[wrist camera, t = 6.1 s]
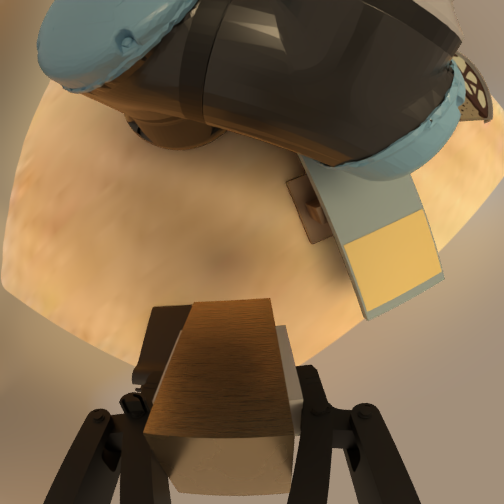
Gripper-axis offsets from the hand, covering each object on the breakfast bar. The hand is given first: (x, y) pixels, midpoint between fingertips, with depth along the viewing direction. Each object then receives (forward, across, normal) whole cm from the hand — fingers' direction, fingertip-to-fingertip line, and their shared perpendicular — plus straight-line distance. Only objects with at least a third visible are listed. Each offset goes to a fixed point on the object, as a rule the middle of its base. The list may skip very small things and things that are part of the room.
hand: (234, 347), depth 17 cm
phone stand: (+19, -10, -10) cm, 23 cm away
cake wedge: (+19, +29, +24) cm, 42 cm away
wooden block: (+2, 0, 0) cm, 2 cm away
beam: (+11, +14, +8) cm, 19 cm away
